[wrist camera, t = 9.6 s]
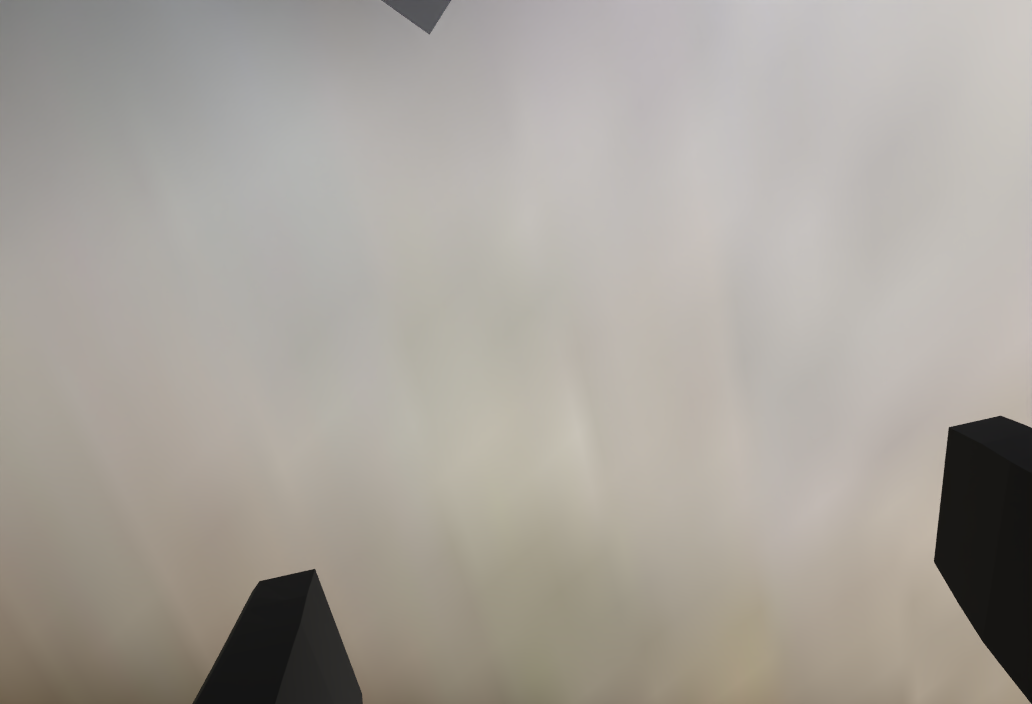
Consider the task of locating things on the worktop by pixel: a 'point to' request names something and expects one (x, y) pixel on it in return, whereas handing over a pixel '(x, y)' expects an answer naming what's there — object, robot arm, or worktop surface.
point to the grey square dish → (420, 11)
